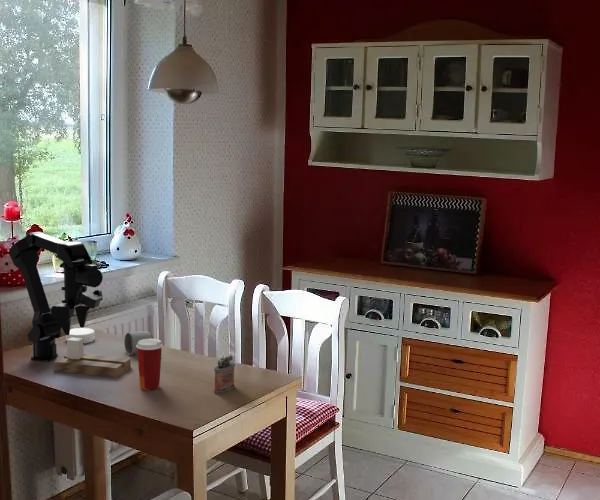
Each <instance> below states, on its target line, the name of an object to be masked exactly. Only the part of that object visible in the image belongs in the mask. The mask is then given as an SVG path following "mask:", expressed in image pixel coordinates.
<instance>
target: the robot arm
mask: <svg viewBox="0 0 600 500" xmlns="http://www.w3.org/2000/svg"><path fill="white" fill-rule="evenodd" d="M42 249H43V250H45V251H46V252H47V251H48V252H50V253H53V254H56V257H57V258H58V260H60V261H62V263H60V265H59V268H61V269H63V280H64V281H63V282H64V284H63V285H62V286H61V291H64V292H63V293H64V298H63V299H61V303H57V304H54V305H53V306H51V307H50V304H49V301H48V299H47V296H46V293H45V290H44V285H43V282H42V279H41V276H40V273H39V271H38V267H37V266H38V263H39V259H40V257H39V252H40V251H41V250H42ZM8 253H9V257H10V259H11V261H12V264H13V265H14V266H15V267H16V268H17V269H18V270H19V271H20V272H21V275H22V278H23V281H24V284H25V288H26V291H27V294H28V297H29V300H30V303H31V306H32V310H33V316H32V319H31V324H32V328H31V329H30V331H29V332H28V333H27V338H28V342H31V343H32V352H33V353H32V354H33V355H32V356H31V357H30V360H34V361H35V360H36V361H44V362H47V361H48V362H49V361H50V360H52V359H54V358H56V357H58V356H59V354H58V353H57V352H58V351H57V343H56V339H59V338H60V335H61V330H62V332H63V333H64V335H65V336H66V335H69V334H70V329H71V325H72V323H71V322H72V319H73V318H74V316H75V315H76V318H77V321H78V325H79V328H85V325H86V321H87V318H88V314H89V312H90V311H91V310H92V309H96V308H97V307H98V308H99V306H100V303H101V302H102V301H103V300H104V298H103V292H102V290H101V289H95V290H94V291H93V290H91V291H90V290H88V287H90V288H98V287H99V286H100V285H101V284H102V282H103V279H104V278H103V274H102V271H101V270H100V269H99V268H98V265H97V264H94V263H93V261H92V258H91V256H90V254H89V252H88V250H87V248H86V246H85V244H84V243H83V242H80V241H65V240H62V239H60V238H56V237H53V236H50V235H48V234H45V233H44V232H42V231H35V232H29V233H27V234H26V235H25V236H24V237H23V238H21V239H20V240H18V241H16V242H15V243H14V244H11V247H10V249H9V251H8Z"/></svg>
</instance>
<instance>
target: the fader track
mask: <svg viewBox="0 0 600 500" xmlns="http://www.w3.org/2000/svg"><path fill="white" fill-rule="evenodd" d="M131 360H132V359H131V358H130V357H119V356H110V355H109V356H108V355H101V354H100V355H99V354H90V353H89V354H87V353H84V357H82V358H80V359H78V360H76V359H70V358H67V354H65V355H64V356H63V357H60V358H58V359H57V360H55V361H54V362H53V365H54V366H53V367H54V372H63V373H69V374H70V373H72V374H80V375H91V376H100V377H109V378H111V377H112V378H118V377H120V376H121V375H122V374H123V373H125V372H126V371H127V370H129V369H131V362H132V361H131Z"/></svg>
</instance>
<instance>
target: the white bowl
mask: <svg viewBox="0 0 600 500" xmlns="http://www.w3.org/2000/svg"><path fill="white" fill-rule="evenodd" d="M95 333H96V332H95V330H94V329H92V328H89V327H84V328H81V327H77V328H70V334H69V335H65V342H66V341H67V340H68V339H69V338H71V337H73V338H83V343H84V344H88V343H89V344H90V343H92V342H94V341H95V339H96V338H95Z"/></svg>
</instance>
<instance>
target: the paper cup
mask: <svg viewBox="0 0 600 500" xmlns="http://www.w3.org/2000/svg"><path fill="white" fill-rule="evenodd" d="M136 347H137V350H138V354H137V360H138V361H137V363H138V375H139V376H138V378H139V387H140V390H143V391H154V390H157V389H159V388H160V381H161V380H160V379H161V367H162V366H161V365H162V347H164V345H163V343H162V340H160V339H159V338H158V339H157V338H153V339H143V340H140V341H138V343H137V345H136Z"/></svg>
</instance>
